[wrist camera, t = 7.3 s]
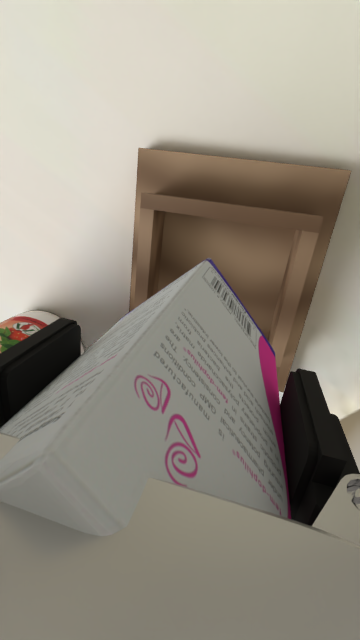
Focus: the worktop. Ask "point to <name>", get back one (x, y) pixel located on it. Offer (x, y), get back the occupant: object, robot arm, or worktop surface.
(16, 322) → the fruit juice
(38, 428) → the supplement box
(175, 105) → the worktop surface
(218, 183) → the holder
